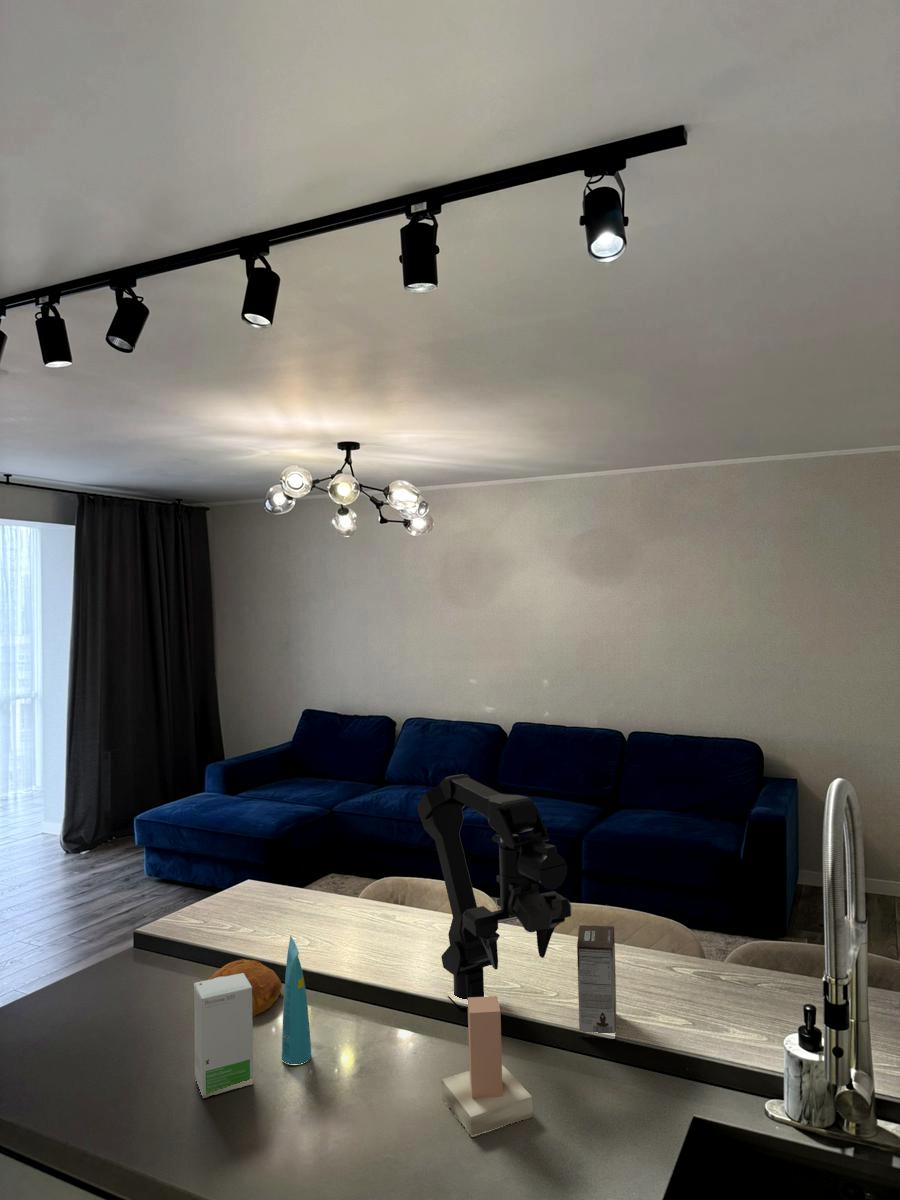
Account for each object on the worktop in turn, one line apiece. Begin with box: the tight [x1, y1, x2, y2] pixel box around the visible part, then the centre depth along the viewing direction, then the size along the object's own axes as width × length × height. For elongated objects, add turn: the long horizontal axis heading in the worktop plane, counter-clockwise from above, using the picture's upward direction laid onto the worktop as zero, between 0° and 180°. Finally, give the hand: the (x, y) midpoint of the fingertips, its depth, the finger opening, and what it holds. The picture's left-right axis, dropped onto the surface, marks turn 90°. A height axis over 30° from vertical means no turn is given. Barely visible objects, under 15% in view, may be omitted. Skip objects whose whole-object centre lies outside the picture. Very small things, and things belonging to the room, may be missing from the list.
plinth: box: [441, 1064, 533, 1135], centre depth 120 cm, size 10×10×3 cm
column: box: [467, 995, 503, 1098], centre depth 120 cm, size 4×4×12 cm
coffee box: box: [576, 924, 617, 1033], centre depth 142 cm, size 9×6×16 cm
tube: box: [281, 934, 312, 1064], centre depth 134 cm, size 7×5×19 cm, turn 26°
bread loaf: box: [207, 958, 282, 1018], centre depth 154 cm, size 14×16×8 cm
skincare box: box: [193, 973, 254, 1096], centre depth 129 cm, size 8×7×16 cm
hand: (518, 962), depth 139 cm, fingers open, 9 cm apart
